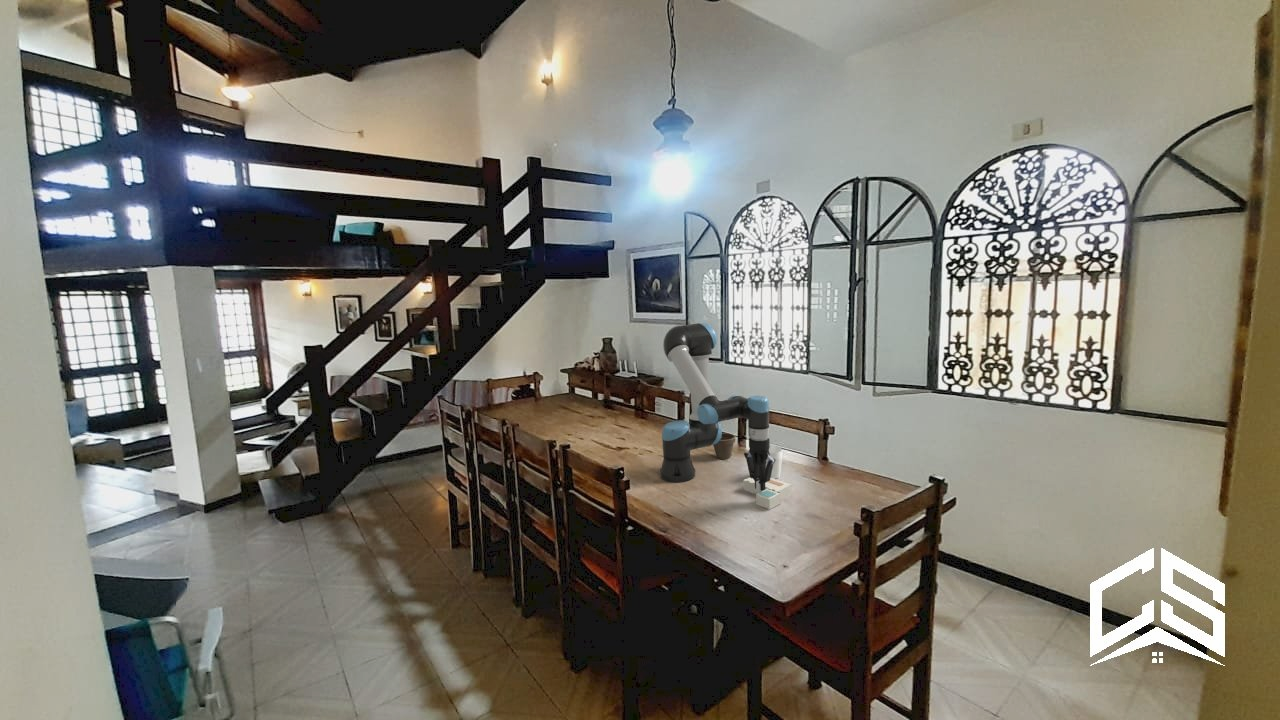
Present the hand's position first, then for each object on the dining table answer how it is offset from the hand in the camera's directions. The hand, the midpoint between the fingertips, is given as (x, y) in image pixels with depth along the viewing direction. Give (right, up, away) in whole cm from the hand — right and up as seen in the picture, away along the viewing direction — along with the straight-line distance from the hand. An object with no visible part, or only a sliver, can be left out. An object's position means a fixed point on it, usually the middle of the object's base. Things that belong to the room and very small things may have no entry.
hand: (760, 497), depth 198 cm
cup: (+10, +3, +23) cm, 25 cm away
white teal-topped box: (+3, -2, -3) cm, 4 cm away
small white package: (+5, 0, +8) cm, 9 cm away
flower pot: (-6, +6, +48) cm, 49 cm away
